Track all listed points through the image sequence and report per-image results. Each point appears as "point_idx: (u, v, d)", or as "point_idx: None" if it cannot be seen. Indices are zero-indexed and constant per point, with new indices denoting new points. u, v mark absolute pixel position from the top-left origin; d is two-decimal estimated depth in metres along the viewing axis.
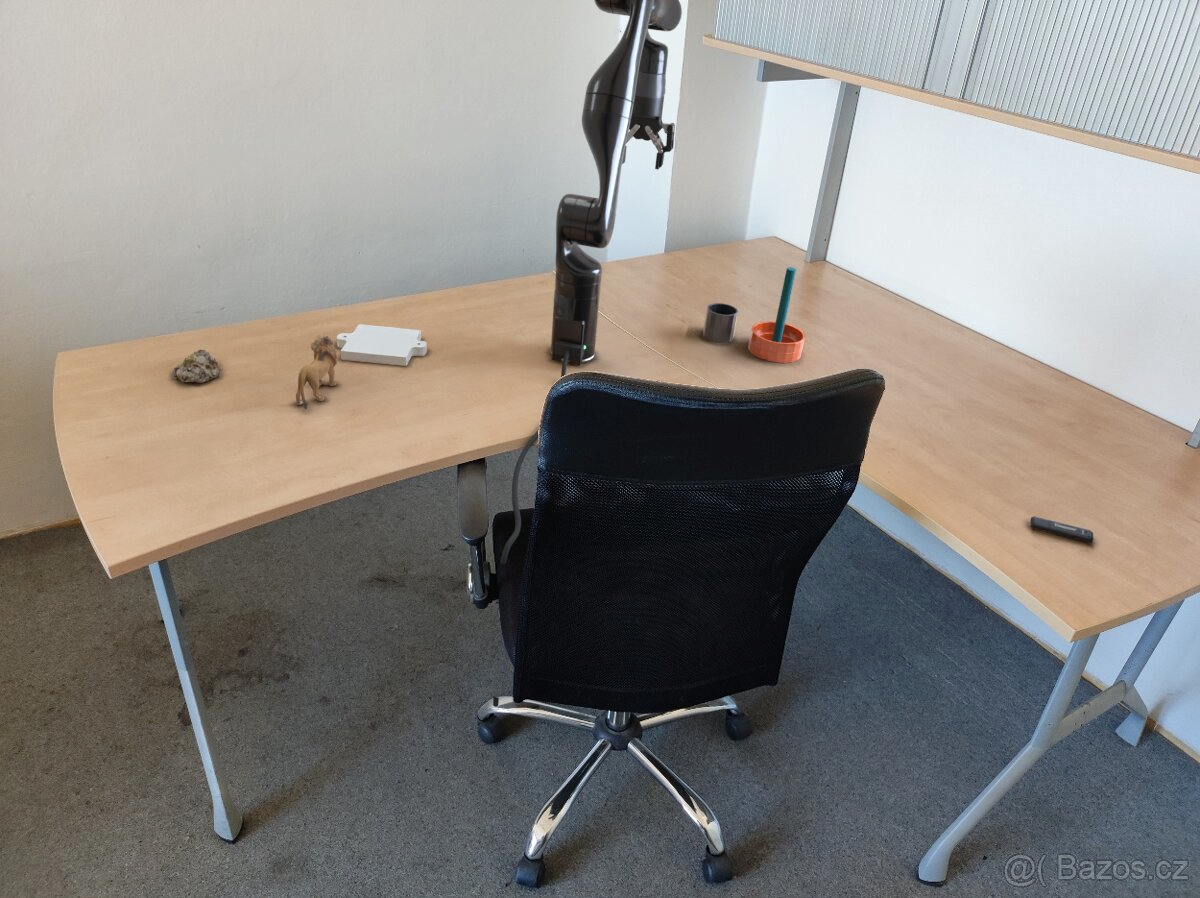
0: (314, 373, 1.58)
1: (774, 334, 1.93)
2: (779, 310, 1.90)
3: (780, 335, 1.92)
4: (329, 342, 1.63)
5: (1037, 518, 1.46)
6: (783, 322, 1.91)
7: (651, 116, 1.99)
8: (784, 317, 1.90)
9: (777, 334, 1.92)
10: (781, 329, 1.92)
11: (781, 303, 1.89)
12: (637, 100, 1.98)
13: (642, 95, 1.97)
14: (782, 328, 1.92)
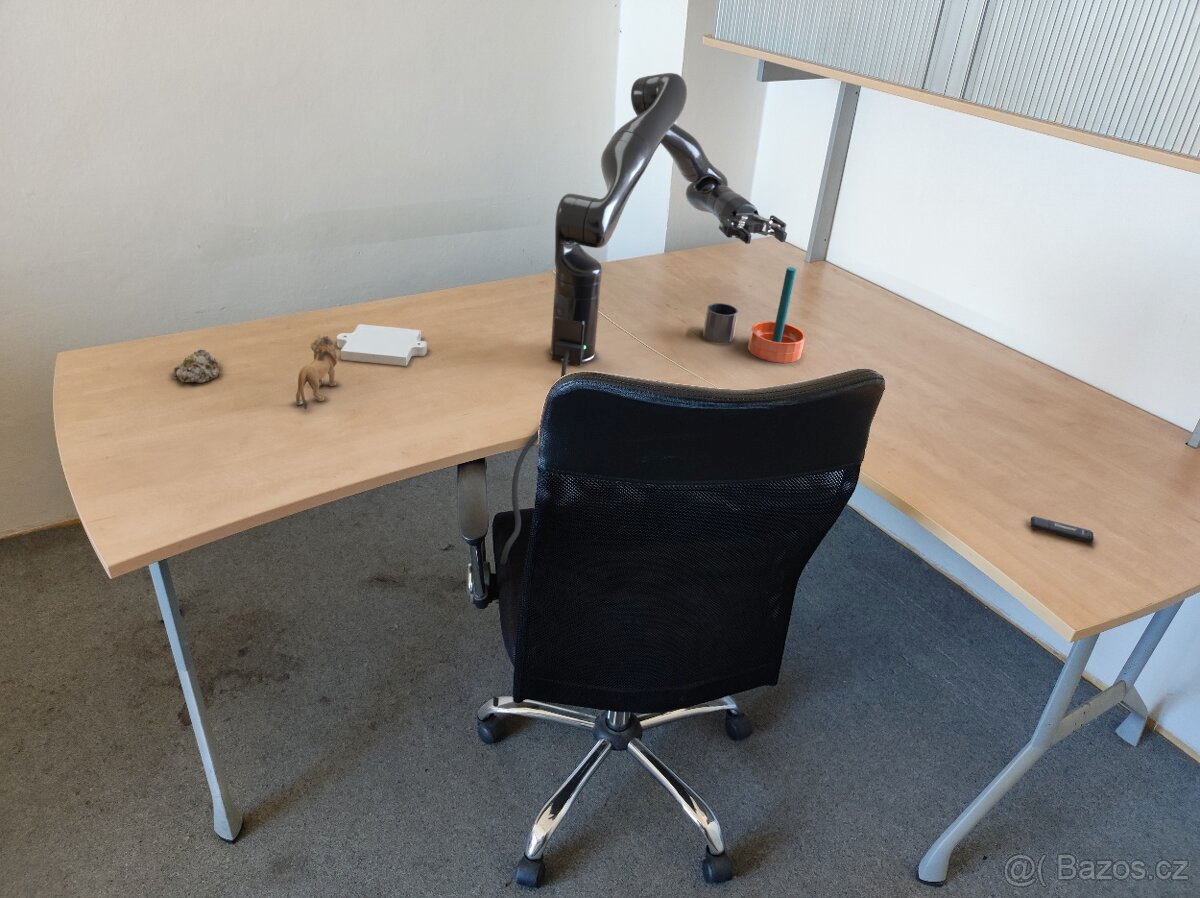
0: (314, 373, 1.58)
1: (774, 334, 1.93)
2: (779, 310, 1.90)
3: (780, 335, 1.92)
4: (329, 342, 1.63)
5: (1037, 518, 1.46)
6: (783, 322, 1.91)
7: (753, 206, 2.01)
8: (784, 317, 1.90)
9: (777, 334, 1.92)
10: (781, 329, 1.92)
11: (781, 303, 1.89)
12: (734, 200, 2.02)
13: (736, 196, 2.03)
14: (782, 328, 1.92)
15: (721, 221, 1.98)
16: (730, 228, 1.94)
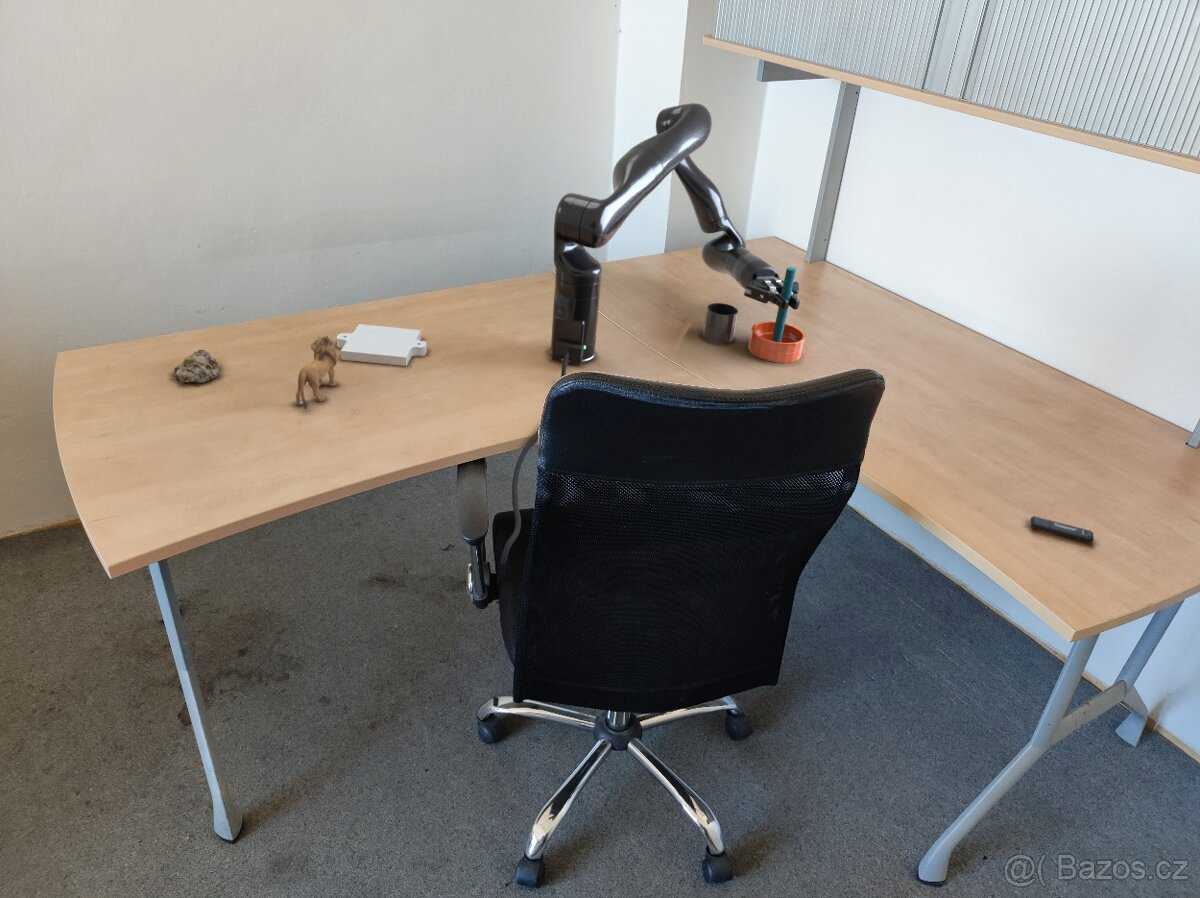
0: (314, 373, 1.58)
1: (774, 334, 1.93)
2: (779, 310, 1.90)
3: (780, 335, 1.92)
4: (329, 342, 1.63)
5: (1037, 518, 1.46)
6: (783, 322, 1.91)
7: (774, 269, 1.96)
8: (784, 317, 1.90)
9: (777, 334, 1.92)
10: (781, 329, 1.92)
11: None
12: (754, 263, 1.97)
13: (756, 259, 1.98)
14: (782, 328, 1.92)
15: (749, 288, 1.91)
16: (766, 294, 1.89)
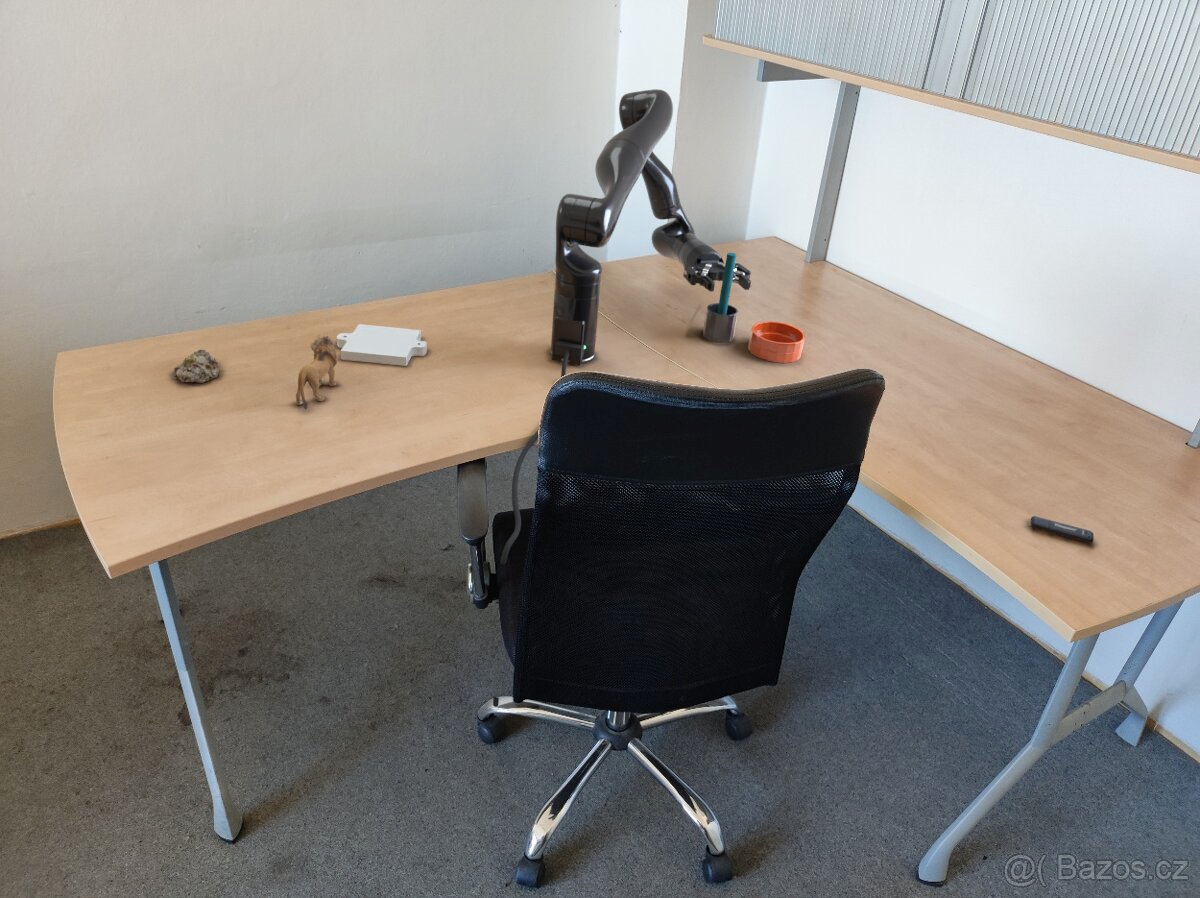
0: (314, 373, 1.58)
1: None
2: (721, 295, 1.94)
3: None
4: (329, 342, 1.63)
5: (1037, 518, 1.46)
6: (725, 307, 1.95)
7: (718, 253, 2.00)
8: (726, 302, 1.95)
9: None
10: (723, 314, 1.96)
11: (723, 288, 1.93)
12: (699, 247, 2.01)
13: (701, 244, 2.02)
14: (724, 313, 1.96)
15: (685, 269, 1.96)
16: (694, 276, 1.93)
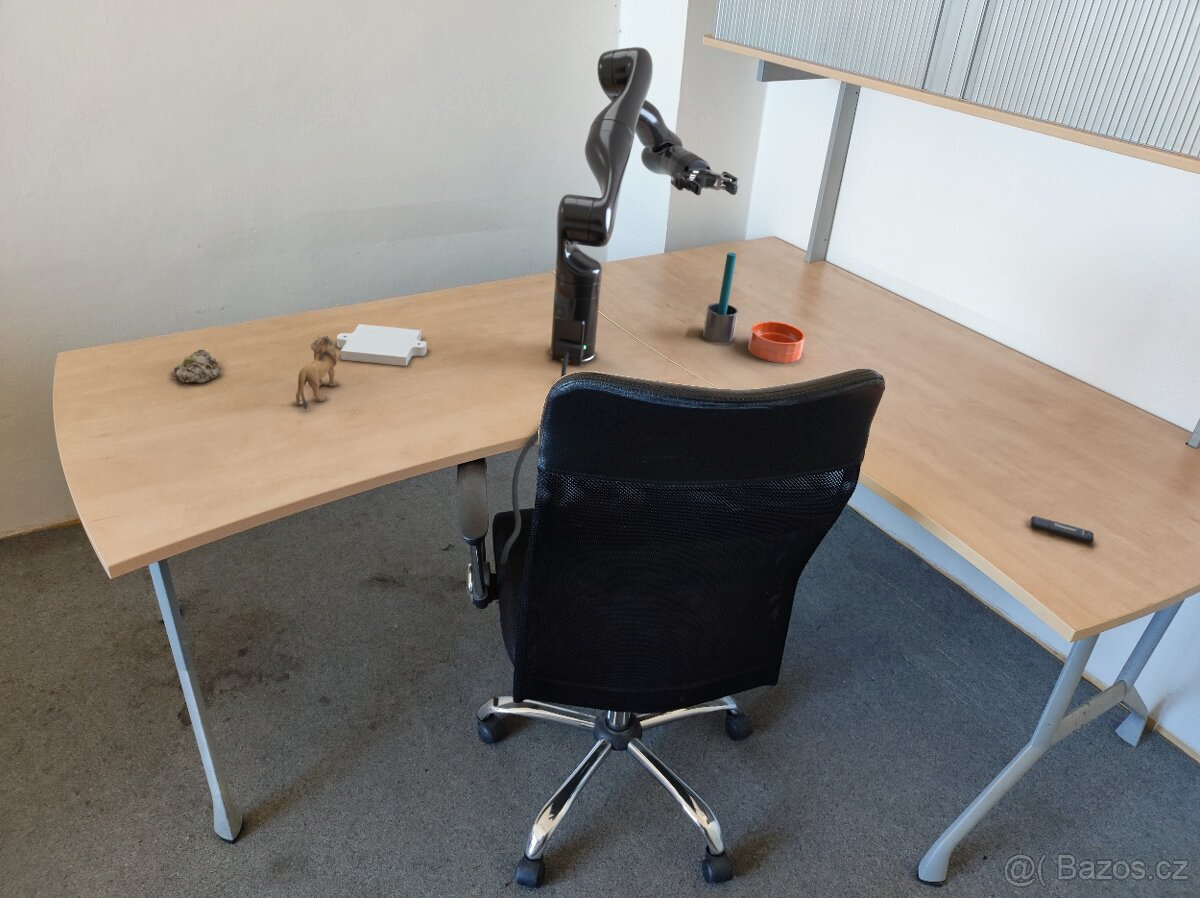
0: (314, 373, 1.58)
1: None
2: (721, 295, 1.94)
3: None
4: (329, 342, 1.63)
5: (1037, 518, 1.46)
6: (725, 307, 1.95)
7: (705, 161, 2.01)
8: (726, 302, 1.95)
9: None
10: (723, 314, 1.96)
11: (723, 288, 1.93)
12: (686, 156, 2.02)
13: (689, 153, 2.04)
14: (724, 313, 1.96)
15: (672, 175, 1.98)
16: (681, 180, 1.94)
